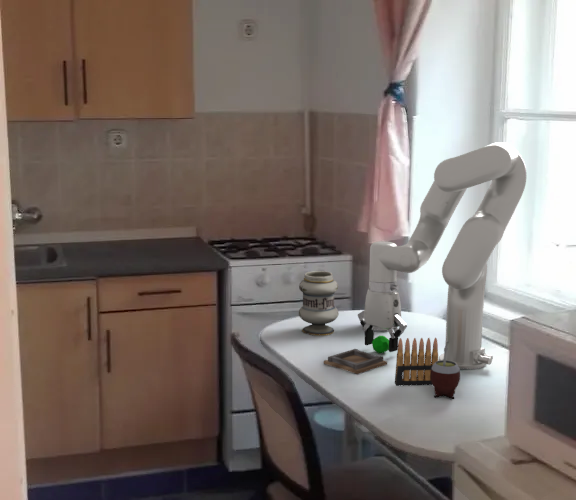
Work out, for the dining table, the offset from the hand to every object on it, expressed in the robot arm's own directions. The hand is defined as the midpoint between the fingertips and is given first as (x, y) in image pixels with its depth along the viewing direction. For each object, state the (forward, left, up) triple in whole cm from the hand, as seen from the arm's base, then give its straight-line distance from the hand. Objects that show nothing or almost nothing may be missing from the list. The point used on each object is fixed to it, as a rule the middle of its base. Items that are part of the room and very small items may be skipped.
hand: (380, 347), depth 239 cm
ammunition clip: (-23, +14, -2) cm, 27 cm away
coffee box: (+17, -21, -2) cm, 27 cm away
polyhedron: (0, 0, -2) cm, 2 cm away
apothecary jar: (+27, -3, -2) cm, 27 cm away
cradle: (-2, +13, -1) cm, 13 cm away
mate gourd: (-33, +16, -2) cm, 37 cm away
